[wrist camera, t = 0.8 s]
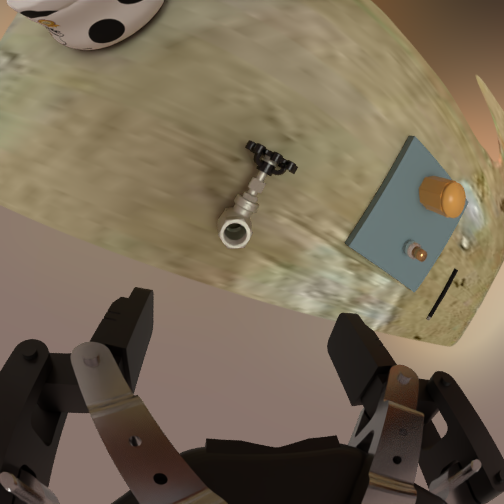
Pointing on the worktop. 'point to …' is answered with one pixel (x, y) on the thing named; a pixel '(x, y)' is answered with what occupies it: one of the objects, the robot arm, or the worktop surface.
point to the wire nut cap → (442, 196)
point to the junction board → (404, 218)
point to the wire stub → (414, 250)
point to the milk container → (89, 19)
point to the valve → (250, 197)
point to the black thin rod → (442, 294)
